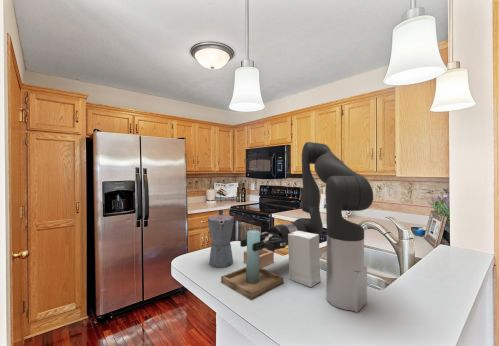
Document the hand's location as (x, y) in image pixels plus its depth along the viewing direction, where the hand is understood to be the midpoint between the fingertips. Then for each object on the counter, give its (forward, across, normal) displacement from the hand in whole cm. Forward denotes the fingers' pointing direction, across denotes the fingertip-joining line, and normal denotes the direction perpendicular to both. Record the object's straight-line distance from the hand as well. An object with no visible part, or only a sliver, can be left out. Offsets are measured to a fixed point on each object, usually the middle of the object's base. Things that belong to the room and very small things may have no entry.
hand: (247, 245), depth 71 cm
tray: (-2, 0, +12) cm, 12 cm away
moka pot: (-4, -20, +12) cm, 23 cm away
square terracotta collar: (-15, -10, +12) cm, 22 cm away
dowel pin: (-2, 0, +11) cm, 12 cm away
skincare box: (-15, +10, +12) cm, 22 cm away
